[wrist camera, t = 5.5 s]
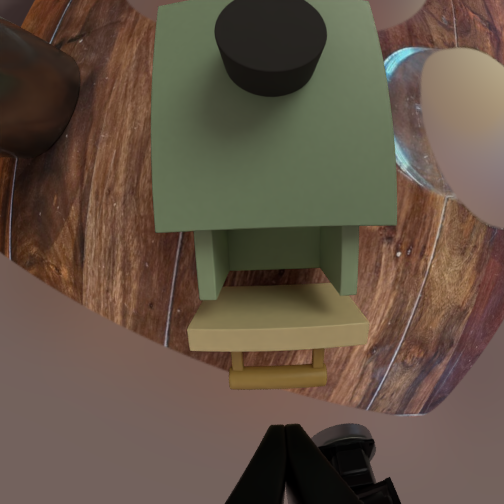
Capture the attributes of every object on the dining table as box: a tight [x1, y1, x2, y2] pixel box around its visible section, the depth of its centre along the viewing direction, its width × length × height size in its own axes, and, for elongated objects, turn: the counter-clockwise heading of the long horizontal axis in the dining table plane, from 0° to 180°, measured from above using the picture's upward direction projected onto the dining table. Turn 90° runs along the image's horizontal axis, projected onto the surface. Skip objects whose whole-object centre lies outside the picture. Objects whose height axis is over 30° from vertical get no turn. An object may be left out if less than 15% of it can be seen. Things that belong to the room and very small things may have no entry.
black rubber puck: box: [214, 0, 327, 97], centre depth 8 cm, size 4×4×2 cm
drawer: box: [187, 226, 369, 390], centre depth 15 cm, size 13×8×6 cm, turn 2°
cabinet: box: [151, 0, 397, 233], centre depth 14 cm, size 11×10×8 cm
